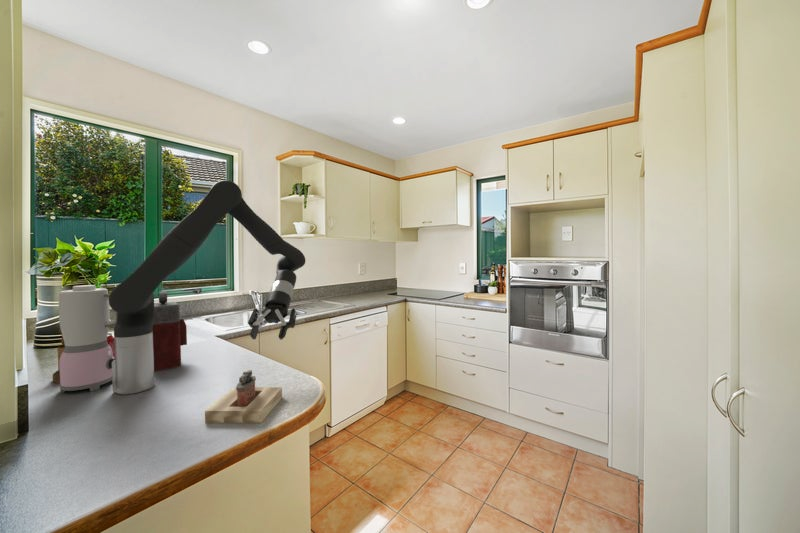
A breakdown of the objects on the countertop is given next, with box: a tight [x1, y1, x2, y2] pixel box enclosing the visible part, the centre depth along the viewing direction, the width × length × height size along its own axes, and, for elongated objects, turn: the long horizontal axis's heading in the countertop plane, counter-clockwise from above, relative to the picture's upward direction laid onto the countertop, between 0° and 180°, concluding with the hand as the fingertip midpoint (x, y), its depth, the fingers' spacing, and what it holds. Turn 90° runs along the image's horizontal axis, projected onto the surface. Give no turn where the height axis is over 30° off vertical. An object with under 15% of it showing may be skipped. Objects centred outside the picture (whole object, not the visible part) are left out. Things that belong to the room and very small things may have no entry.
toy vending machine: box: [153, 290, 188, 372], centre depth 121 cm, size 9×11×28 cm
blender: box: [58, 284, 118, 394], centre depth 102 cm, size 16×12×32 cm
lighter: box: [235, 369, 256, 407], centre depth 87 cm, size 8×3×10 cm, turn 3°
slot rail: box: [204, 386, 283, 424], centre depth 87 cm, size 14×14×3 cm
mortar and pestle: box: [52, 327, 65, 383], centre depth 108 cm, size 7×6×18 cm
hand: (266, 338), depth 100 cm, fingers open, 8 cm apart
